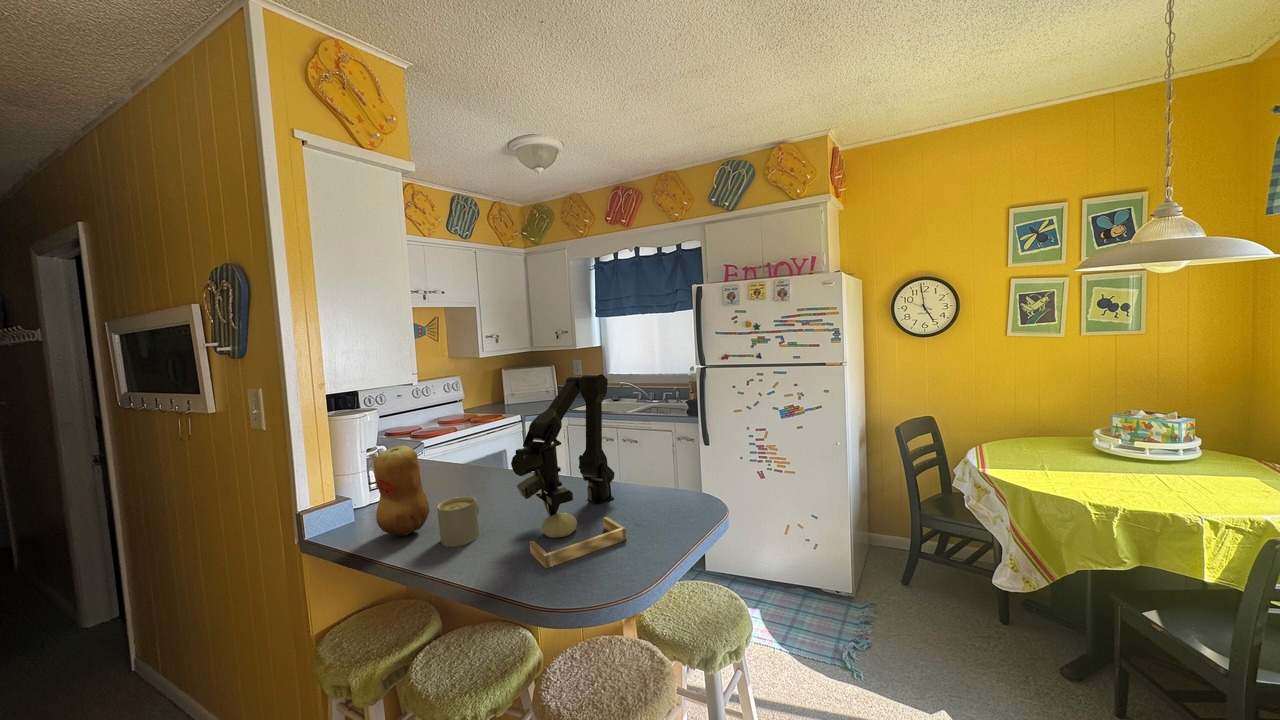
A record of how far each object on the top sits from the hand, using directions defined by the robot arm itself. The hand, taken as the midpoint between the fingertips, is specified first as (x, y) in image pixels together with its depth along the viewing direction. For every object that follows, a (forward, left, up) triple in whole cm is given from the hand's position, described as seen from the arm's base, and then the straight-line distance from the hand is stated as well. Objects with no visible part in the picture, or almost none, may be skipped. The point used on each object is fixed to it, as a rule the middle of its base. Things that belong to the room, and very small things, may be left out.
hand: (552, 519), depth 141 cm
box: (0, +16, -2) cm, 16 cm away
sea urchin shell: (0, +5, -2) cm, 6 cm away
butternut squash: (+34, -26, -2) cm, 43 cm away
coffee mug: (+21, -12, -2) cm, 24 cm away
